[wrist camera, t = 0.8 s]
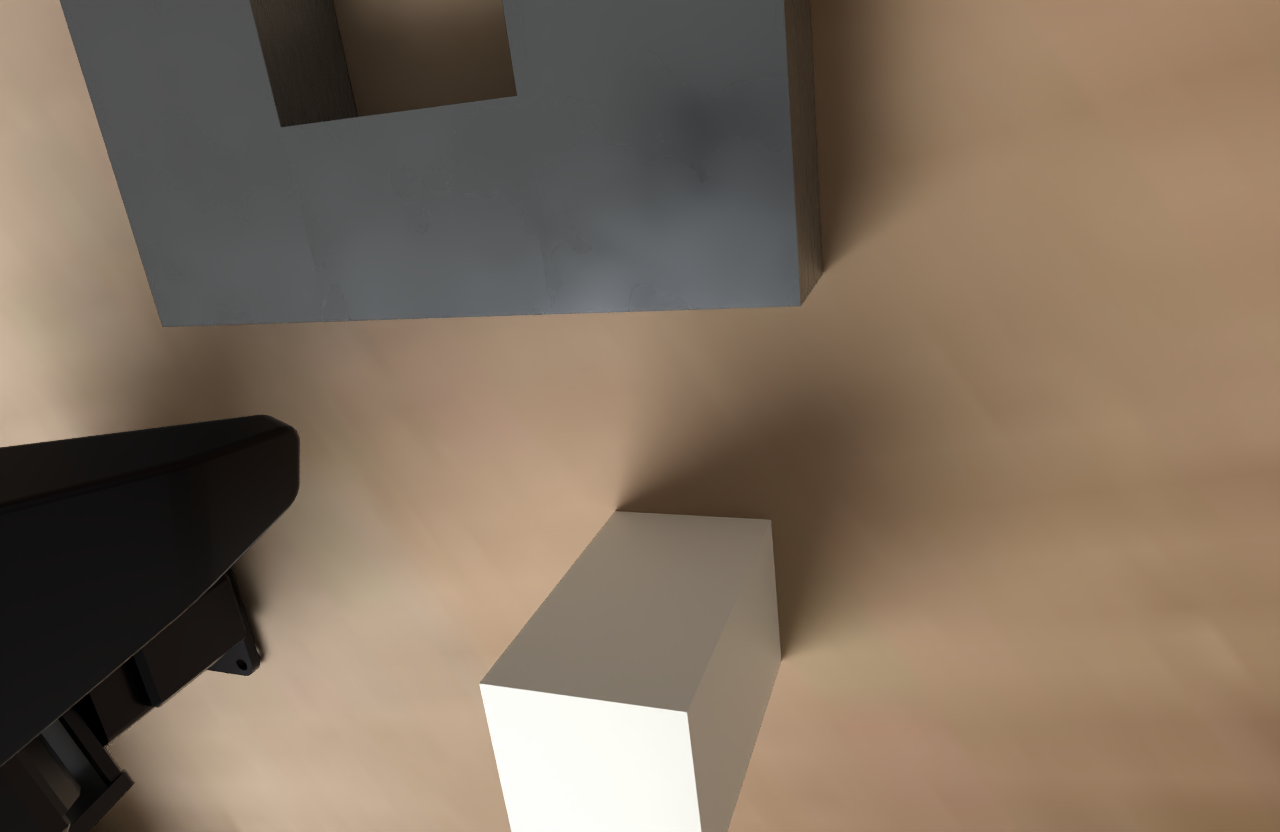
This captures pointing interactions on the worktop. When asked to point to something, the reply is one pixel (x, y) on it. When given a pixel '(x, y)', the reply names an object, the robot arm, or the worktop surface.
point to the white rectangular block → (640, 680)
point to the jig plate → (461, 163)
